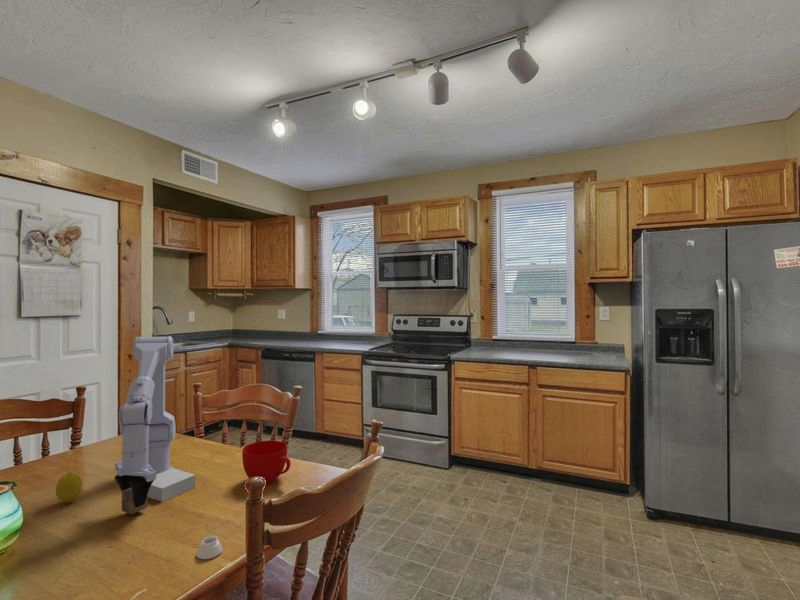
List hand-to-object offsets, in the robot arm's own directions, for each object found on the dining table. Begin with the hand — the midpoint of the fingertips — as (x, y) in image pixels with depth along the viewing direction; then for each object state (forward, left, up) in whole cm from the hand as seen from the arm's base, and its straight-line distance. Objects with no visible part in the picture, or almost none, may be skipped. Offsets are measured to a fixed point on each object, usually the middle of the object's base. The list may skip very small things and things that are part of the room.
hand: (134, 503), depth 105 cm
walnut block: (0, 0, -1) cm, 1 cm away
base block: (-5, +12, -3) cm, 13 cm away
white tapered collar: (+31, -2, -3) cm, 31 cm away
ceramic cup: (+16, +30, -3) cm, 34 cm away
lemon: (-21, -5, -3) cm, 22 cm away
